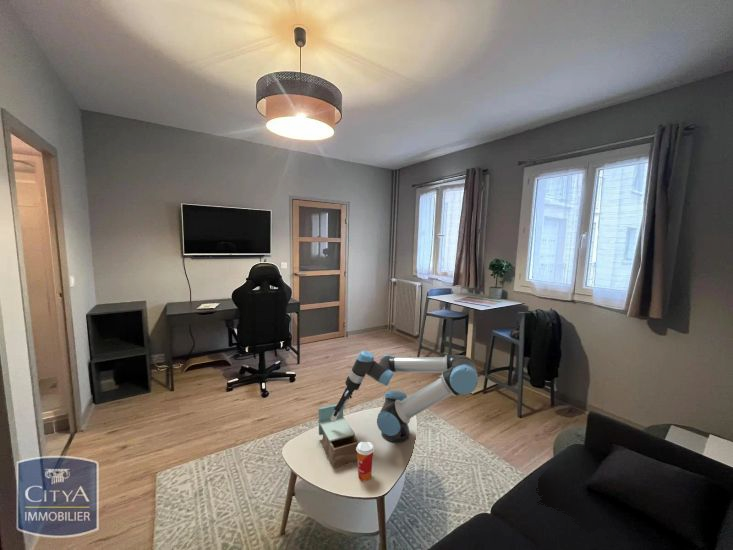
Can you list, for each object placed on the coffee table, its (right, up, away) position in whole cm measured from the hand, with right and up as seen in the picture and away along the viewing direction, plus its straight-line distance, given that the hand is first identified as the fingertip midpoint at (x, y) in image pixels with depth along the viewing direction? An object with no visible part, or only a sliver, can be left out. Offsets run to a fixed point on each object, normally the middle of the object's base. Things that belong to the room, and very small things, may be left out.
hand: (337, 413), depth 156 cm
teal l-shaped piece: (0, -12, -4) cm, 12 cm away
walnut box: (+2, -15, -9) cm, 18 cm away
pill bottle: (+14, -17, -24) cm, 32 cm away
